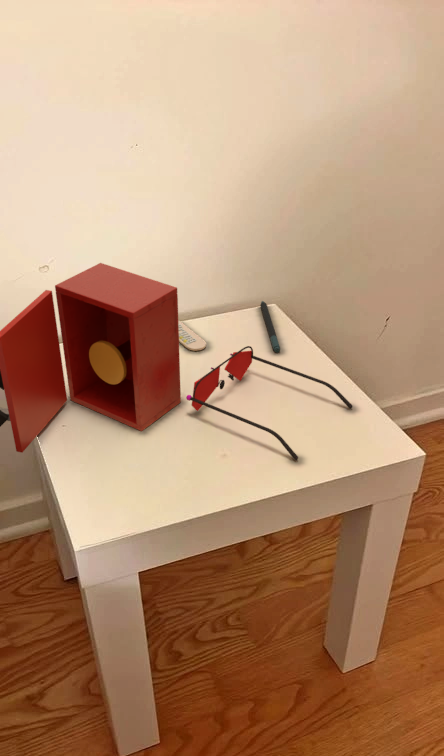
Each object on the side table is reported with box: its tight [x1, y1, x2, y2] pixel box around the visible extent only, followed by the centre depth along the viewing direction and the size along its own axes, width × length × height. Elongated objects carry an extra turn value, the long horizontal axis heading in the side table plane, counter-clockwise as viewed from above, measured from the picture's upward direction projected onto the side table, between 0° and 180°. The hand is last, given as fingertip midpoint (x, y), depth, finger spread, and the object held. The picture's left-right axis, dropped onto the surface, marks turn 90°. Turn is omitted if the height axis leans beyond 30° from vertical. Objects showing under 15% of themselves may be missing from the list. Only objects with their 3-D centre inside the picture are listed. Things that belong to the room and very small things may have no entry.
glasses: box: [185, 345, 353, 461], centre depth 98 cm, size 14×16×5 cm
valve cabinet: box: [54, 262, 182, 432], centre depth 96 cm, size 8×12×16 cm, turn 55°
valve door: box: [0, 289, 68, 453], centre depth 92 cm, size 5×12×15 cm, turn 163°
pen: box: [259, 300, 281, 354], centre depth 117 cm, size 1×16×1 cm, turn 5°
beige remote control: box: [178, 319, 207, 352], centre depth 114 cm, size 10×1×3 cm
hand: (5, 402), depth 93 cm, fingers open, 8 cm apart
